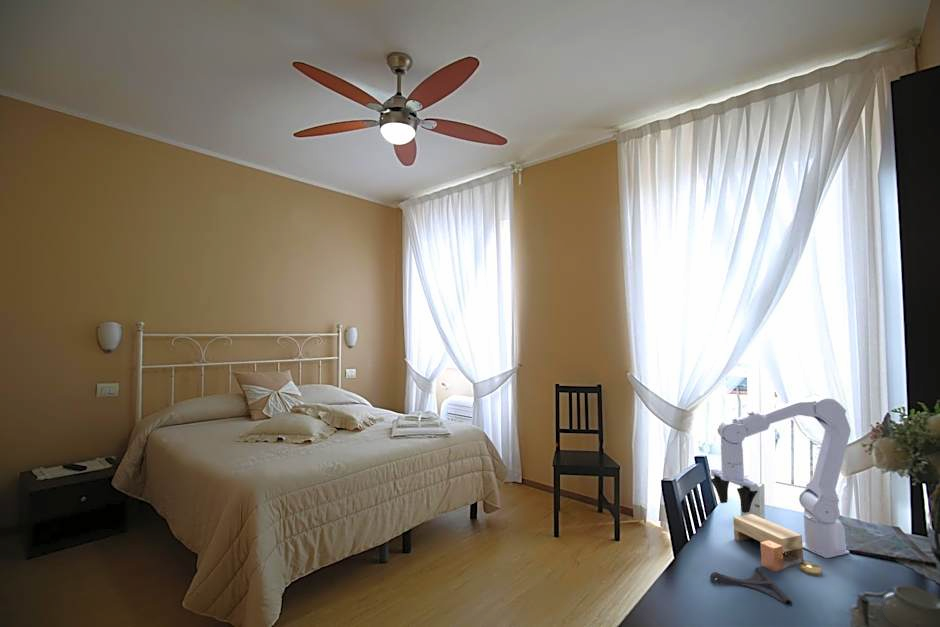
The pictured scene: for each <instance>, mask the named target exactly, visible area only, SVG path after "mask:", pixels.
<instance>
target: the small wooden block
mask: <svg viewBox="0 0 940 627" xmlns="http://www.w3.org/2000/svg"><path fill="white" fill-rule="evenodd" d="M759 543H760V563H761V566H762V567H764V568H766V569H768V570H770V571H772V572H775V573H777V572H780V571H782V569H783V570H784V569H785V568H784V567H786V568H788V567H787V566H789V567H791V566H790V565H793V566H795V565H794V564H796V565H799V564H800V562H802V561H803V559H801V558H799V557H796V556H794V555H792V554H787V555H786V554H784V553H783V548H782V546H781V545H779V544H777V543H774V542H772V541H770V540H768V541H764V542H759ZM798 563H799V564H798ZM779 570H780V571H779Z"/></svg>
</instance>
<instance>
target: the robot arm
mask: <svg viewBox="0 0 940 627" xmlns="http://www.w3.org/2000/svg"><path fill="white" fill-rule="evenodd" d="M846 412H847V409H846V408H844V406H843V405H841V403H840V402H838V401H837V400H836V399H833V398H829V397H824V396H821V395H818V394H808V395H806V396H803V397H798V398H796V399H794V400H792V401H790V402H787V403H786V404H783V405H779V406H778V407H775V408H774V409H771V410H769V411H766V412H764V413H762V412H760V411H752V410H750V411H748V412H747V414H745V415H743V416H741V417H738V418H737V417H734V418H732V421H729V420H725V421H723V422H721V423H720V425H719V426H718V428H717V433H718V435H719V436H720V455H721V456H720V457H721V470H719V469H714V468H713V469H710V476H711V477H713V478H711V479H710V481H711V483H712V485H713V486H714V488H715V491H716V494H717V496H718V499H719V502H720V503H721V504H726V503H728V501H729V500H728V497H729V495H728V491H729V484H730V483H731V484H734V485H737V486H742V487H743V488H740V487H737V488H736V490H737V492H738V495H739V499H740V510H741V509H742V512H743V513H747V512H749V511H750V507H751V503H752V501H753V498H754V497H755V495H756V494H757V492H758V484H757V483H754V482H755V481H754V482H752V481H753V480H750V479H748V478H746V476H745V471H744V469H745V468H744V467H745V466H744V449H743V441H744V440H745V438H747V437H751V436H753V435H756V434H758V433H759V434H760V433H762V432H765V431H767V430H769V429H770V426H771V425H772V424H774V423H778V422H781V421H783V420H788V419H790V418H793V417H797V416H802V417H803V416H804V417H809V418H810V417H811V418H814V419H815V420H816V421H817V422H818V423H819V424H820V425H821V427H823V429H824V433H823V437H822V441H821V446H820V450H819V453H818V457H817V460H816V465H815V468H814V472H813V476H812V480H811V481H810V482H808V483H807V484H806V485H805V488H804V490H803V491H802V492H801V493H800V495H799V498H798V500H799V503H800V505H801V507H803V508H804V511H803V528H804V529H803V530H804V541H802V547H803V549H805V550H807V551H809V552H812V553H814V554H816V555H818V556H820V557H822V558H825V559H829V558H834V557H838V556H842V555H847V554H850V551H849V550H847V548H846V547H847V545H846V533H845V532H846V529H845V527H844V525H843V523H842V522H841V521H840V520H839V518H840V515H841V514H840V508H839V501H840V499H839V497H838V494H837V492H836V491H837V490H836V488H837V484H838V480H839V477H840V473H841V470H842V465H843V462H844V458H845V455H846V450H847V447H848V444H849V443H848V442H849V439H850V435H851V431H852V429H851V426H850V424H849V420H848V418H847V415H846Z"/></svg>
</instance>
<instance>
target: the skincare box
mask: <svg viewBox="0 0 940 627" xmlns="http://www.w3.org/2000/svg"><path fill="white" fill-rule="evenodd" d="M751 481H752V482H754V483H757V484H758V492H757V494H756V495H755V497H754V498H753V501H752V503H751V507H750V511H749V512H747V513H743V512H742V509H741V508H740V516H743V515H749V514H753V515H756V516H758V517H761V518H763V519H765V520H766V513H765V510H766V509H765V508H766V506H765V502H766V500H765V483H761V482H757V481H754V480H751ZM739 486H740V485H739ZM739 488H743V487H742V486H740V487H739Z"/></svg>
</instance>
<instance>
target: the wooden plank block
mask: <svg viewBox="0 0 940 627" xmlns="http://www.w3.org/2000/svg"><path fill="white" fill-rule="evenodd" d="M732 518H733V538H734V540H736V541H738V542H740V541H739V540H742V541H745V539H747V540H755V539H756V541H757V542H759V543H761V542H764V541H768V540H770V541H772V542H774V543H777V544H779V545H781V546H782V548H783V552H784V553H786V554H792V555H794V556H796V557H799V558H801V559H802V560H804V550H803V549H804V548H803V547H802V543H803V535H802V534H800V533H797V532H795V531H793V530H791V529H789V528H786V527H783V526H782V525H780V524H777V523H774V522H772V521H769V520H767V519H766V518H765V519H763V518H761V517H758V516H756V515H753V514H749V515H743V516H741V515H738V516H734V517H733V516H732ZM784 553H783V554H784ZM786 554H785V555H786Z"/></svg>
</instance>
